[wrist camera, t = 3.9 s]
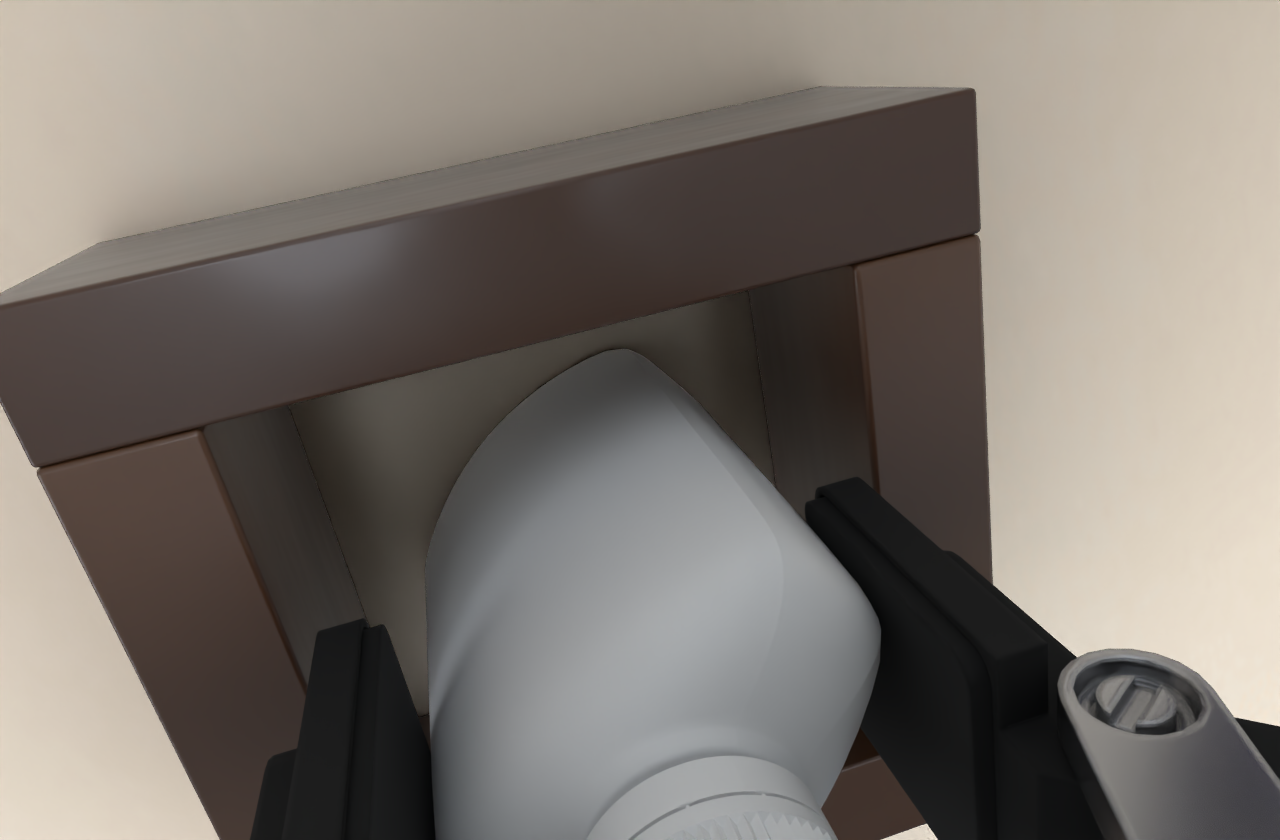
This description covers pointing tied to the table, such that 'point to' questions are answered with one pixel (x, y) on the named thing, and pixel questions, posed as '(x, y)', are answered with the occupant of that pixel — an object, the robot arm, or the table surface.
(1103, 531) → the table surface
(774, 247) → the holder
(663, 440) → the eye dropper bottle
